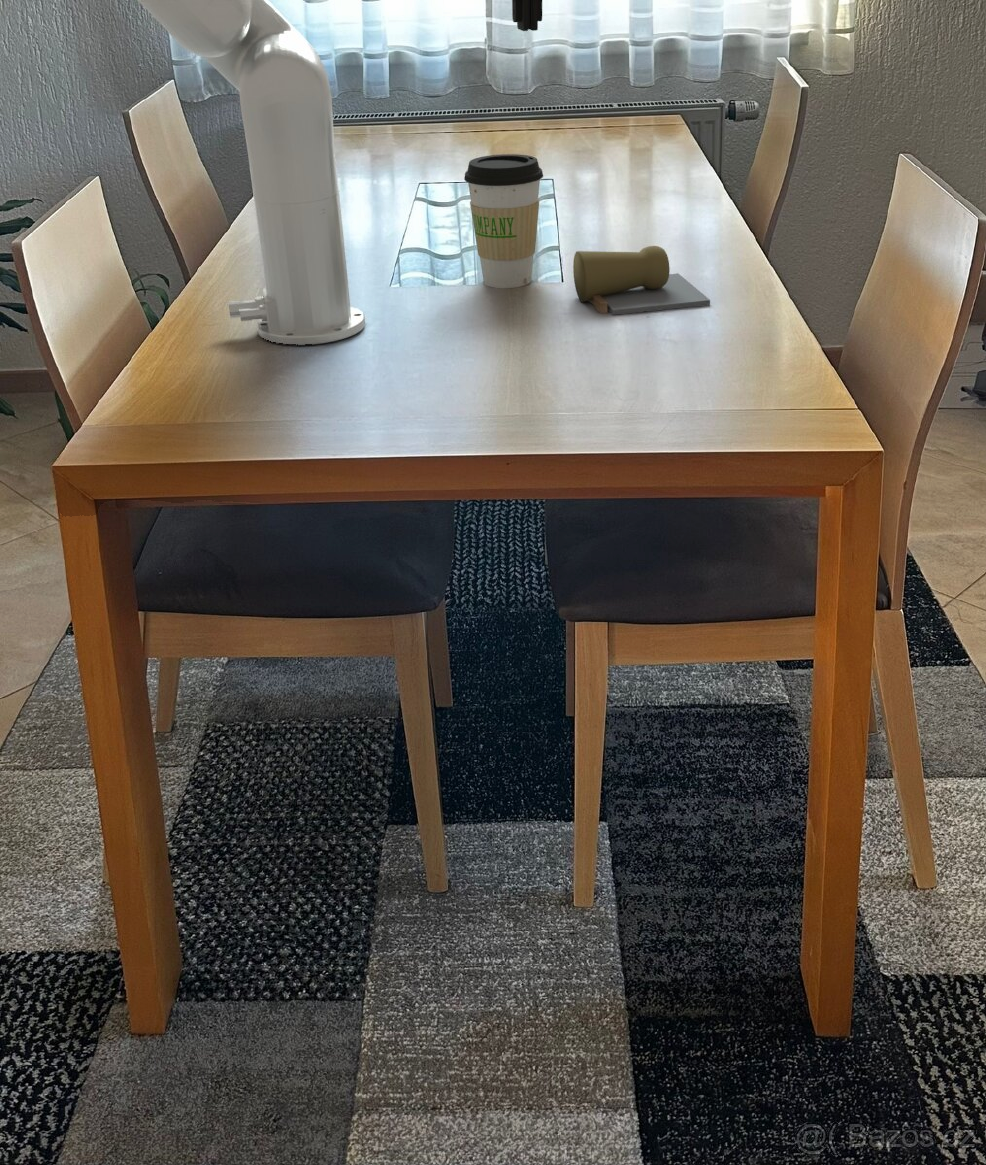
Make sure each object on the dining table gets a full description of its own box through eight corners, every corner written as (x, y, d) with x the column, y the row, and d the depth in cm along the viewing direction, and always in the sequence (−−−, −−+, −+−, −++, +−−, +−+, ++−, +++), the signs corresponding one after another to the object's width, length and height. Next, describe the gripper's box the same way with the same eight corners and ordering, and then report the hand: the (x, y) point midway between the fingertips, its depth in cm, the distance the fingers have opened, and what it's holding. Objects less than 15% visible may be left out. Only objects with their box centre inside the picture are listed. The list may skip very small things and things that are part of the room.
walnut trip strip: (600, 313, 152) (600, 303, 152) (579, 290, 161) (579, 280, 160) (607, 312, 153) (607, 302, 152) (585, 289, 161) (585, 280, 161)
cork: (577, 306, 159) (663, 295, 160) (588, 296, 153) (677, 285, 154) (570, 257, 159) (656, 247, 160) (581, 245, 153) (670, 235, 154)
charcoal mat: (612, 314, 152) (612, 309, 152) (586, 286, 162) (586, 282, 162) (709, 304, 154) (710, 300, 153) (678, 277, 164) (678, 273, 164)
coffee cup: (460, 275, 169) (453, 157, 162) (530, 266, 171) (527, 150, 164) (482, 296, 161) (476, 172, 153) (556, 286, 163) (554, 164, 156)
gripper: (460, -166, 127) (466, 36, 135) (606, -169, 129) (603, 29, 138) (447, -164, 133) (453, 28, 142) (587, -167, 135) (584, 23, 144)
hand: (527, 28), depth 140 cm, fingers closed
